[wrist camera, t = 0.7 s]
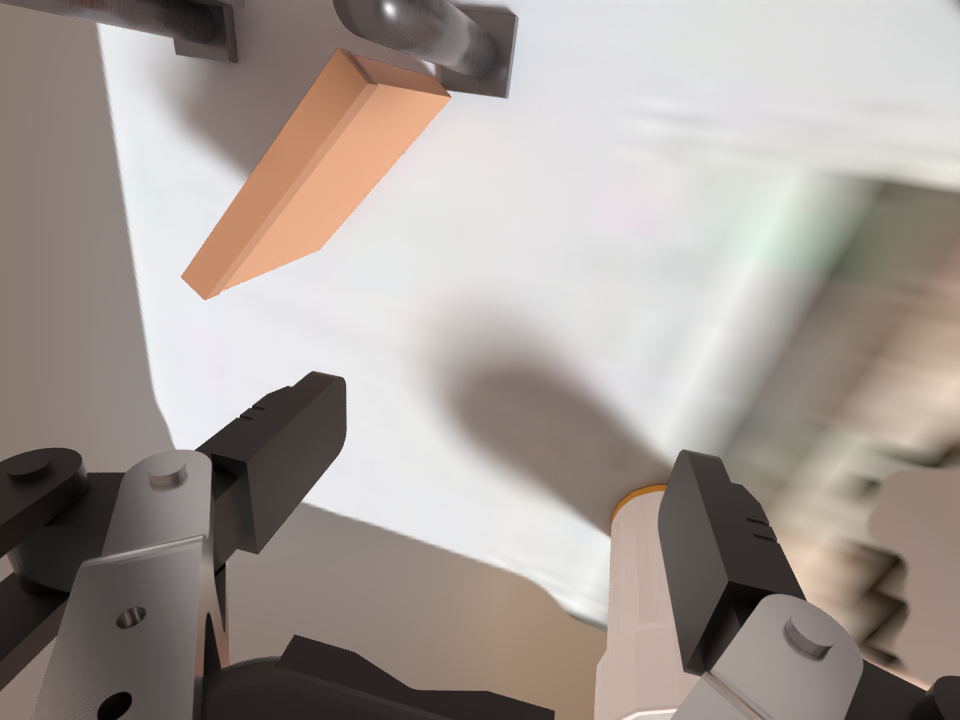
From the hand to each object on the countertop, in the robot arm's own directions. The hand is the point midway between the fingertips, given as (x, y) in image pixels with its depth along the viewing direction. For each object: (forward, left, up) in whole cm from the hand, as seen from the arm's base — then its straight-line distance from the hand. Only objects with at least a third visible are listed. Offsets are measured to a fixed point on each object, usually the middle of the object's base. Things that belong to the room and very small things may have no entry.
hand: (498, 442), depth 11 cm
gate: (+11, -8, -21) cm, 25 cm away
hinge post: (+3, -12, -23) cm, 26 cm away
